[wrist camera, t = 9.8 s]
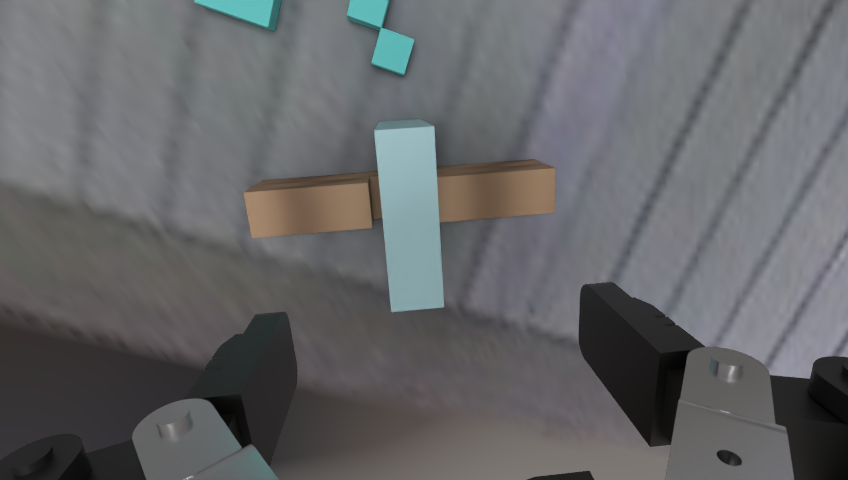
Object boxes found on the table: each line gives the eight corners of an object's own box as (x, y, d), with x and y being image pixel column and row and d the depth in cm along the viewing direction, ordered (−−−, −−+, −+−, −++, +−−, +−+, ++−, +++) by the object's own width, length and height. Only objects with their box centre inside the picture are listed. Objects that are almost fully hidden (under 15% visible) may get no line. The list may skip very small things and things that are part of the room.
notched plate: (420, 118, 32) (434, 126, 22) (428, 251, 35) (444, 307, 25) (378, 121, 32) (374, 130, 22) (390, 254, 35) (391, 312, 25)
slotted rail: (533, 159, 33) (555, 168, 29) (533, 198, 34) (554, 212, 30) (262, 180, 32) (243, 192, 28) (269, 220, 33) (252, 238, 29)
